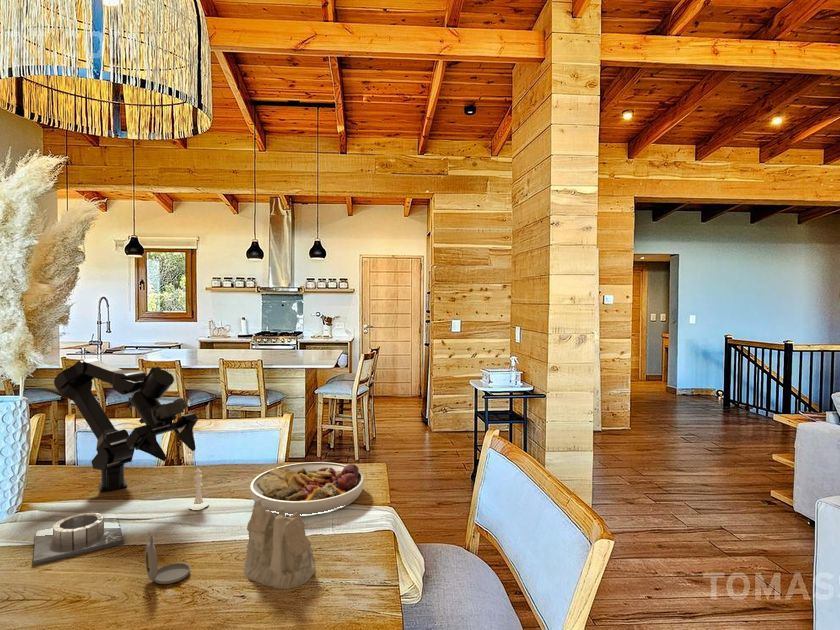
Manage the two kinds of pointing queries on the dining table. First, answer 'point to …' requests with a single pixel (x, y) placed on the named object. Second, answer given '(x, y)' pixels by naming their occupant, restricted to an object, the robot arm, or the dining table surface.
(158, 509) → the dining table surface
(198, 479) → the chess piece
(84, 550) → the lens mount
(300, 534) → the grey brown rock formation
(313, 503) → the bowl
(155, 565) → the pocket watch
